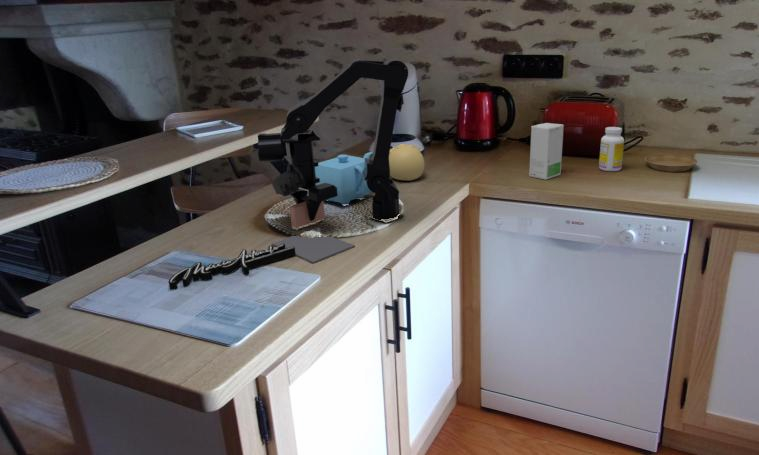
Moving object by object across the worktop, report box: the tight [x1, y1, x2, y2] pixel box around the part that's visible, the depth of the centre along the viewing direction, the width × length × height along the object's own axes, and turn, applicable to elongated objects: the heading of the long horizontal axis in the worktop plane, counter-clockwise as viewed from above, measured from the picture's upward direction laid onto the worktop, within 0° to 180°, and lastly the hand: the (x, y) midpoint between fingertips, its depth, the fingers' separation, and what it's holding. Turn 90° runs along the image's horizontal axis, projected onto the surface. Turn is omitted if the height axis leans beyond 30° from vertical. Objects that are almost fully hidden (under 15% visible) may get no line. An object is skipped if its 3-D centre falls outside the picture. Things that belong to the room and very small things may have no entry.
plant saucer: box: [644, 153, 698, 173], centre depth 180 cm, size 15×15×3 cm
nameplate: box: [168, 244, 296, 290], centre depth 124 cm, size 28×2×10 cm
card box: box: [289, 201, 326, 228], centre depth 147 cm, size 9×2×6 cm, turn 134°
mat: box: [270, 235, 356, 264], centre depth 135 cm, size 12×16×1 cm
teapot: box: [315, 151, 373, 205], centre depth 165 cm, size 18×16×13 cm
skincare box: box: [528, 122, 565, 181], centre depth 175 cm, size 8×7×16 cm
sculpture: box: [389, 143, 425, 181], centre depth 181 cm, size 12×12×11 cm
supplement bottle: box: [598, 126, 625, 172], centre depth 179 cm, size 7×7×13 cm
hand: (308, 218), depth 147 cm, fingers open, 3 cm apart
